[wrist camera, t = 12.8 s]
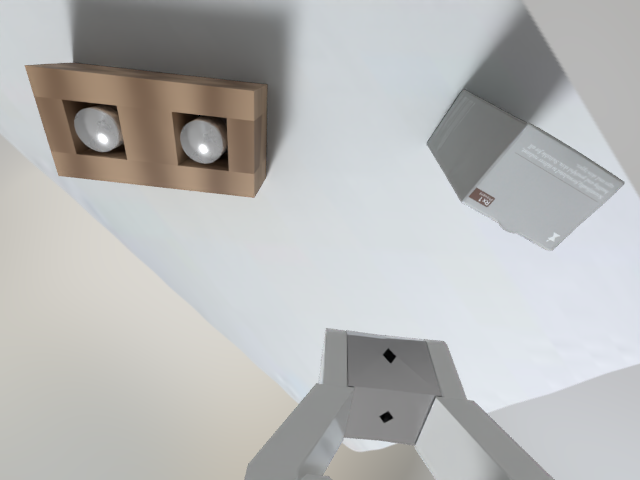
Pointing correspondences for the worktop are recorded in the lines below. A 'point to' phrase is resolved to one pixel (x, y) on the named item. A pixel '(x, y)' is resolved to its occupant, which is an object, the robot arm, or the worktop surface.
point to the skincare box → (518, 172)
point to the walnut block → (153, 126)
